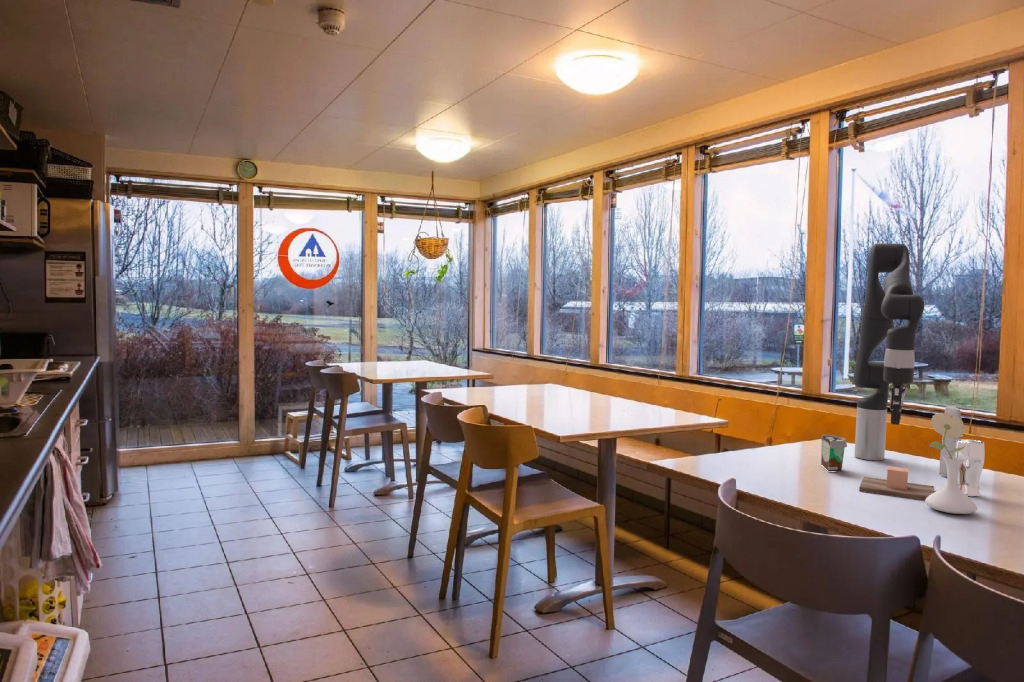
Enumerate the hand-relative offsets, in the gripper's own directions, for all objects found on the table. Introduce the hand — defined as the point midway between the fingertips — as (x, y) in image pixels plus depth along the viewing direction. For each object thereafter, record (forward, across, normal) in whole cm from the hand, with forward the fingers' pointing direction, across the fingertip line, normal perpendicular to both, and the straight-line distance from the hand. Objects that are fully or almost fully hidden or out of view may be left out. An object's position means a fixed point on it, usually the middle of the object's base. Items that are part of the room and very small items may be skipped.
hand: (895, 421), depth 199 cm
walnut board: (+19, +2, +1) cm, 19 cm away
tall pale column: (+20, -27, +14) cm, 36 cm away
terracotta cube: (+18, +2, +1) cm, 18 cm away
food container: (+20, -16, -16) cm, 30 cm away
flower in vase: (+19, +16, +13) cm, 28 cm away
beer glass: (+20, -6, +18) cm, 27 cm away
